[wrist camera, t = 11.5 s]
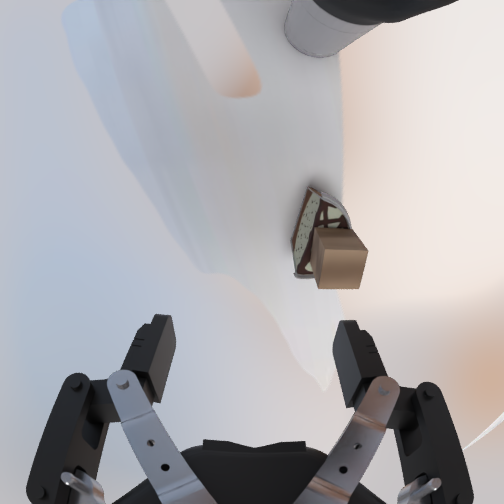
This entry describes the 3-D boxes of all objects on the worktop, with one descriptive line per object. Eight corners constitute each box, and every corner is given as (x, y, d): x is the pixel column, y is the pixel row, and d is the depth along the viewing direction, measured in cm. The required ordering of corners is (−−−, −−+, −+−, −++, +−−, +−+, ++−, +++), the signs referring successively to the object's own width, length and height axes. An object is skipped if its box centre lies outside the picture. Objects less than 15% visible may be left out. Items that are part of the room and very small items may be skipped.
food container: (322, 255, 47) (336, 289, 38) (287, 248, 47) (295, 281, 38) (346, 187, 42) (369, 208, 33) (309, 177, 41) (324, 195, 32)
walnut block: (314, 227, 34) (325, 249, 29) (352, 229, 34) (368, 250, 29) (309, 262, 37) (318, 288, 31) (345, 263, 37) (358, 289, 31)
